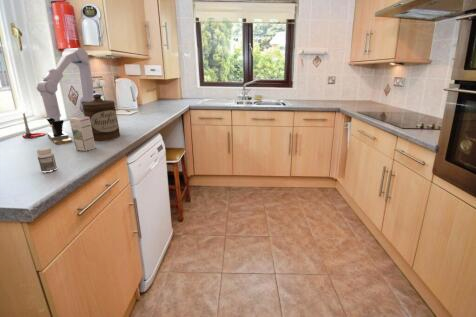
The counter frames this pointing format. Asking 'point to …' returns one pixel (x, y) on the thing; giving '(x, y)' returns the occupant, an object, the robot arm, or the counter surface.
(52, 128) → the pin
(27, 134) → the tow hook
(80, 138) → the syrup box
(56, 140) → the slotted panel plate
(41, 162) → the pill bottle
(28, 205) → the counter surface
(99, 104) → the brown labelled jar
